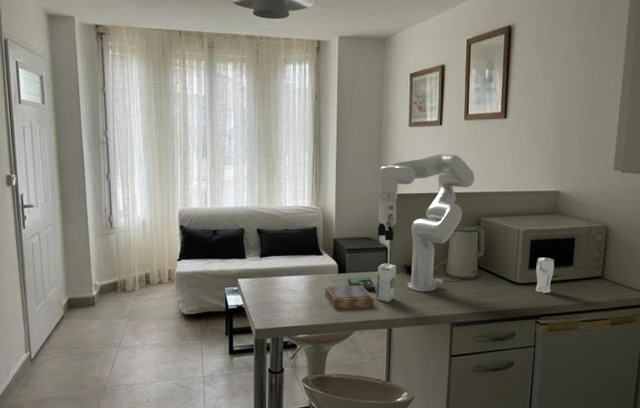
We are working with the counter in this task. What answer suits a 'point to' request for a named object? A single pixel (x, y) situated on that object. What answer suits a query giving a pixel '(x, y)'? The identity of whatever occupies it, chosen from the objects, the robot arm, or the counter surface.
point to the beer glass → (544, 274)
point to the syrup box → (386, 282)
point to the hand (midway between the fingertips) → (385, 237)
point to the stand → (349, 297)
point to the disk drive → (362, 283)
